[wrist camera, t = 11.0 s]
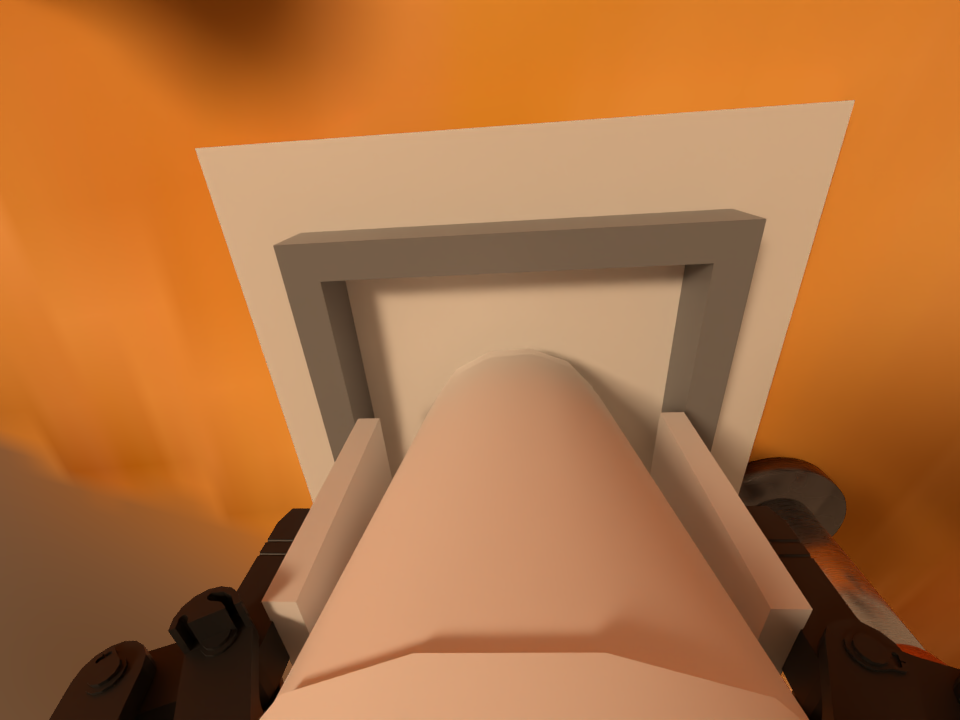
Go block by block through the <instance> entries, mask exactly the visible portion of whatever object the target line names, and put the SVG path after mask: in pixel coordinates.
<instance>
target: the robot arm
mask: <svg viewBox="0 0 960 720" xmlns="http://www.w3.org/2000/svg"><path fill="white" fill-rule="evenodd" d="M650 475H651V477H652V478H653V480H654V481H655V483H656V485H657V486H658V488H659V489H660V491H661V492H662V494H663V495H664V497H665V498H666V500H667V502H668V503H669V505H670V506H671V508H672V509H673V511H674V512H675V514H676V515H677V517H678V518H679V520H680V522H681V523H682V525H683V526H684V528H685V529H686V531H687V532H688V534H689V535H690V537H691V538H692V540H693V542H694V543H695V545H696V546H697V548H698V549H699V551H700V552H701V554H702V555H703V557H704V559H705V560H706V562H707V563H708V565H709V566H710V568H711V569H712V571H713V572H714V574H715V575H716V577H717V579H718V580H719V582H720V583H721V585H722V586H723V588H724V589H725V591H726V592H727V594H728V595H729V597H730V599H731V600H732V602H733V603H734V605H735V606H736V608H737V609H738V611H739V612H740V614H741V616H742V617H743V619H744V620H745V622H746V623H747V625H748V626H749V628H750V629H751V631H752V632H753V634H754V636H755V637H756V639H757V640H758V642H759V643H760V645H761V646H762V648H763V649H764V651H765V652H766V654H767V656H768V657H769V659H770V660H771V662H772V663H773V665H774V666H775V668H776V669H777V671H778V673H779V674H780V675H781V673H782V671H783V672H784V674H785V676H786V678H787V680H788V682H789V684H790V686H791V688H792V690H793V691H792V694H793V696H794V697H795V699H796V700H797V702H798V703H799V705H800V706H801V708H802V709H803V711H804V713H805V714H806V716H807V717H808V719H809V720H960V669H956V668H953V667H950V666H946V665H943V664H940V663H936V662H933V661H930V660H926V659H923V658H920V657H917V656H914V655H911V654H908V653H906V652H903V651H902V650H901V649H900V648H899V647H898V646H897V645H896V643H894V642H893V641H892V640H890V639H889V638H888V637H887V636H885V635H884V634H883V633H881V632H880V631H878V630H876V629H874V628H872V627H870V626H868V625H867V624H865V623H862V622H861V621H860V620H859V619H858V618H857V617H856V616H855V614H854V613H853V612H852V610H851V609H850V608H849V606H848V605H847V604H846V602H845V601H844V599H843V598H842V597H841V595H840V594H839V593H838V591H837V590H836V589H835V587H834V586H833V584H832V583H831V582H830V580H829V579H828V578H827V576H826V575H825V574H824V572H823V571H822V569H821V568H820V567H819V565H818V564H817V563H816V561H815V560H814V559H813V558H811V556H810V553H809V552H808V550H807V549H806V548H805V546H804V545H803V544H802V543H800V541H799V538H798V537H797V535H796V534H795V533H794V531H793V530H792V529H791V527H790V526H789V525H788V523H787V522H786V521H785V520H784V519H783V518H781V517H780V516H779V515H777V514H776V513H775V512H774V511H772V510H771V509H770V508H769V507H767V506H745V505H744V503H743V502H742V500H741V499H740V497H739V496H738V494H737V493H736V491H735V490H734V488H733V487H732V485H731V484H730V482H729V480H728V479H727V477H726V476H725V474H724V473H723V471H722V470H721V468H720V467H719V465H718V464H717V462H716V461H715V459H714V457H713V456H712V454H711V453H710V451H709V450H708V448H707V447H706V445H705V444H704V442H703V441H702V439H701V438H700V436H699V435H698V433H697V431H696V430H695V428H694V427H693V425H692V424H691V422H690V421H689V419H688V418H687V416H686V415H685V413H684V412H665V413H660V417H659V423H658V429H657V435H656V441H655V447H654V454H653V460H652V466H651V472H650ZM391 479H392V476H391V471H390V467H389V462H388V457H387V452H386V447H385V443H384V438H383V433H382V428H381V424H380V419H379V418H366V419H358V420H357V422H356V424H355V425H354V427H353V429H352V431H351V433H350V435H349V437H348V439H347V441H346V442H345V444H344V446H343V448H342V450H341V452H340V454H339V456H338V458H337V459H336V461H335V463H334V465H333V467H332V469H331V471H330V473H329V475H328V476H327V478H326V480H325V482H324V484H323V486H322V488H321V490H320V492H319V493H318V495H317V497H316V499H315V501H314V503H313V505H312V507H311V509H292V510H291V511H290V512H289V513H288V514H286V515H285V516H284V517H283V518H282V519H281V520H280V521H279V522H278V523H277V525H276V526H275V528H274V530H273V531H272V533H271V535H270V536H269V538H268V542H266V543H265V545H264V547H263V548H262V550H261V551H260V555H259V556H258V557H257V558H256V560H255V562H254V563H253V565H252V567H251V568H250V570H249V572H248V574H247V575H246V577H245V578H244V580H243V582H242V584H241V585H240V587H239V589H238V590H237V592H236V591H235V590H234V589H233V588H231V587H222V586H221V587H216V588H212V589H208V590H206V591H205V592H203V593H201V594H199V595H197V596H195V597H194V598H193V599H191V600H190V601H189V602H188V603H187V604H185V605H184V606H183V607H182V608H181V610H180V611H179V612H178V613H177V615H176V616H175V617H174V618H173V621H172V623H171V625H170V628H169V633H170V634H171V636H172V637H173V639H174V640H175V641H176V643H175V644H171V645H168V646H165V647H161V648H158V649H155V650H152V651H147V649H146V648H145V646H144V645H142V644H141V643H139V642H137V641H124V642H121V643H119V644H116V645H113V646H111V647H109V648H107V649H106V650H105V651H103V652H101V653H100V654H98V655H96V656H95V657H94V658H93V659H92V660H91V661H90V662H88V663H87V664H86V665H85V666H84V667H83V668H82V669H81V670H80V672H79V673H78V674H77V676H76V677H75V678H74V679H73V681H72V683H71V684H70V686H69V687H68V689H67V691H66V692H65V694H64V696H63V697H62V699H61V701H60V703H59V704H58V706H57V708H56V709H55V711H54V713H53V714H52V716H51V718H50V720H259V719H260V718H261V717H262V716H263V714H264V713H265V712H266V711H267V710H268V708H269V707H270V706H271V705H272V704H273V702H274V701H275V699H276V697H277V695H278V693H279V691H280V689H281V688H282V686H283V684H284V682H283V679H282V675H283V673H284V671H285V668H286V666H287V663H288V661H289V660H290V662H291V664H292V666H293V665H294V663H295V661H296V659H297V658H298V656H299V654H300V652H301V650H302V648H303V646H304V644H305V643H306V641H307V639H308V637H309V635H310V633H311V631H312V629H313V628H314V626H315V624H316V622H317V620H318V618H319V616H320V614H321V613H322V611H323V609H324V607H325V605H326V603H327V601H328V599H329V598H330V596H331V594H332V592H333V590H334V588H335V586H336V584H337V583H338V581H339V579H340V577H341V575H342V573H343V571H344V569H345V568H346V566H347V564H348V562H349V560H350V558H351V556H352V554H353V553H354V551H355V549H356V547H357V545H358V543H359V541H360V539H361V538H362V536H363V534H364V532H365V530H366V528H367V526H368V524H369V523H370V521H371V519H372V517H373V515H374V513H375V511H376V509H377V508H378V506H379V504H380V502H381V500H382V498H383V496H384V494H385V493H386V491H387V489H388V487H389V485H390V482H391Z"/></svg>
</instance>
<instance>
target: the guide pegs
mask: <svg viewBox="0 0 960 720" xmlns="http://www.w3.org/2000/svg"><path fill="white" fill-rule="evenodd" d="M738 496H739V497H740V499H741V500H742V502H743V503H744V505H745V506H767V507H769V508H770V509H771V510H772V511H774V512H775V513H776V514H777V515H779V516H780V517H781V518H783V519H784V520H785V521H786V522H787V523H788V525H789V526H790V527H791V529H792V530H793V531H794V533H795V534H796V535H797V537H798V538H799V541H800V543H802V544H803V545H804V546H805V548H806V549H807V550H808V552H809V553H810V556H811V558H813V559H814V560H815V561H816V563H817V564H818V565H819V567H820V568H821V569H822V571H823V572H824V574H825V575H826V576H827V578H828V579H829V580H830V582H831V583H832V584H833V586H834V587H835V589H836V590H837V591H838V593H839V594H840V595H841V597H842V598H843V599H844V601H845V602H846V604H847V605H848V606H849V608H850V609H851V610H852V612H853V613H854V614H855V616H856V617H857V618H858V619H859V620H860V621H861V622H862V623H865V624H867V625H868V626H870V627H872V628H874V629H876V630H878V631H880V632H881V633H883V634H884V635H885V636H887V637H888V638H889V639H890V640H892V641H893V642H894V643H896V645H897V646H898V647H899V648H900V649H901V650H902V651H903V652H906V653H908V654H911V655H914V656H917V657H920V658H923V659H926V660H930V661H933V662H936V663H940V664H943V665H946V664H945V663H943V662H942V661H941V660H939V659H938V658H937V657H935V656H933V655H932V654H930V653H929V652H927V651H926V650H925V649H924V648H923V647H922V646H921V644H920V643H919V642H918V641H917V640H916V638H915V637H914V636H913V635H912V634H911V632H910V631H909V630H908V629H907V627H906V626H905V625H904V624H903V623H902V621H901V620H900V619H899V618H898V617H897V615H896V614H895V613H894V612H893V611H892V609H891V608H890V607H889V606H888V604H887V603H886V602H885V601H884V600H883V598H882V597H881V596H880V595H879V594H878V592H877V591H876V590H875V589H874V587H873V586H872V585H871V584H870V583H869V581H868V580H867V579H866V578H865V577H864V575H863V574H862V573H861V572H860V571H859V569H858V568H857V567H856V566H855V564H854V563H853V562H852V561H851V560H850V558H849V557H848V556H847V555H846V554H845V552H844V551H843V550H842V549H841V548H840V546H839V545H838V544H837V543H836V541H835V540H834V539H833V538H832V536H833V535H834V534H835V533H836V532H837V530H838V529H839V528H840V526H841V524H842V523H843V520H844V518H845V514H846V501H845V498H844V496H843V494H842V492H841V491H840V490H839V488H838V487H837V486H836V485H835V484H834V483H833V482H832V481H831V480H830V479H829V478H828V477H827V476H826V475H825V474H824V473H823V472H822V471H821V470H820V469H819V468H818V467H816V466H814V465H813V464H811V463H808V462H806V461H802V460H799V459H793V458H780V457H779V458H767V459H761V460H757V461H753V462H750V463H748V464H747V467H746V471H745V474H744V477H743V481H742V484H741V488H740V491H739V494H738ZM946 666H947V665H946Z"/></svg>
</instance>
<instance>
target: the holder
mask: <svg viewBox="0 0 960 720" xmlns="http://www.w3.org/2000/svg"><path fill="white" fill-rule="evenodd" d="M854 102H855V100H851V101H837V102H823V103H809V104H796V105H782V106H768V107H755V108H741V109H727V110H714V111H700V112H686V113H673V114H659V115H645V116H631V117H618V118H604V119H590V120H577V121H563V122H549V123H536V124H522V125H508V126H495V127H481V128H467V129H453V130H440V131H426V132H412V133H399V134H385V135H371V136H358V137H344V138H330V139H317V140H303V141H289V142H275V143H262V144H248V145H234V146H221V147H207V148H195V150H196V153H197V156H198V159H199V162H200V165H201V168H202V171H203V174H204V177H205V180H206V183H207V186H208V189H209V192H210V195H211V198H212V201H213V204H214V207H215V210H216V213H217V216H218V219H219V222H220V225H221V228H222V231H223V234H224V237H225V240H226V243H227V246H228V249H229V252H230V255H231V258H232V261H233V264H234V267H235V270H236V273H237V276H238V279H239V282H240V285H241V288H242V291H243V294H244V297H245V300H246V303H247V306H248V309H249V312H250V315H251V318H252V321H253V324H254V327H255V330H256V333H257V336H258V339H259V342H260V345H261V348H262V351H263V354H264V357H265V360H266V363H267V366H268V369H269V372H270V375H271V378H272V381H273V384H274V387H275V390H276V393H277V396H278V399H279V402H280V405H281V408H282V411H283V414H284V417H285V420H286V423H287V426H288V429H289V432H290V435H291V438H292V441H293V444H294V447H295V450H296V453H297V456H298V459H299V462H300V465H301V468H302V471H303V474H304V477H305V480H306V483H307V486H308V489H309V492H310V495H311V498H312V501H313V503H314V501H315V499H316V497H317V495H318V493H319V492H320V490H321V488H322V486H323V484H324V482H325V480H326V478H327V476H328V475H329V473H330V471H331V469H332V467H333V465H334V463H335V461H336V459H337V458H338V456H339V454H340V452H341V450H342V448H343V446H344V444H345V442H346V441H347V439H348V437H349V435H350V433H351V431H352V429H353V427H354V425H355V424H356V422H357V420H358V419H366V418H379V419H380V424H381V428H382V433H383V438H384V443H385V447H386V452H387V457H388V462H389V467H390V471H391V476H392V479H393V478H394V476H395V474H396V472H397V470H398V468H399V466H400V464H401V463H402V461H403V459H404V457H405V455H406V453H407V451H408V450H409V448H410V446H411V444H412V442H413V440H414V438H415V436H416V435H417V433H418V431H419V429H420V427H421V425H422V423H423V421H424V420H425V418H426V416H427V414H428V412H429V410H430V408H431V406H432V405H433V403H434V402H435V400H436V399H437V396H438V395H439V393H440V392H441V390H442V389H443V388H444V386H445V385H446V383H447V382H448V380H449V379H450V378H451V376H452V375H453V373H454V372H455V370H456V369H458V368H459V367H461V366H463V365H465V364H467V363H469V362H471V361H473V360H475V359H476V358H478V357H480V356H482V355H484V354H486V353H488V352H490V351H502V350H515V349H529V348H530V349H533V350H536V351H539V352H542V353H545V354H548V355H551V356H553V357H556V358H559V359H562V360H565V361H567V362H568V363H569V364H570V365H571V366H572V367H573V368H574V369H575V370H576V371H577V372H578V373H579V374H580V375H581V376H582V377H583V378H584V379H585V380H586V381H587V382H588V383H589V384H590V385H591V386H592V387H593V390H594V391H595V392H596V393H597V394H598V395H599V397H600V398H601V400H602V401H603V403H604V404H605V406H606V408H607V409H608V411H609V412H610V414H611V415H612V417H613V418H614V420H615V421H616V423H617V424H618V426H619V428H620V429H621V431H622V432H623V434H624V435H625V437H626V438H627V440H628V441H629V443H630V445H631V446H632V448H633V449H634V451H635V452H636V454H637V455H638V457H639V458H640V460H641V461H642V463H643V465H644V466H645V468H646V469H647V471H648V472H649V474H650V472H651V466H652V460H653V454H654V447H655V441H656V435H657V429H658V423H659V417H660V413H665V412H684V413H685V415H686V416H687V418H688V419H689V421H690V422H691V424H692V425H693V427H694V428H695V430H696V431H697V433H698V435H699V436H700V438H701V439H702V441H703V442H704V444H705V445H706V447H707V448H708V450H709V451H710V453H711V454H712V456H713V457H714V459H715V461H716V462H717V464H718V465H719V467H720V468H721V470H722V471H723V473H724V474H725V476H726V477H727V479H728V480H729V482H730V484H731V485H732V487H733V488H734V490H735V491H736V493H737V494H739V491H740V488H741V484H742V481H743V477H744V474H745V471H746V467H747V464H748V461H749V457H750V454H751V450H752V447H753V444H754V440H755V437H756V433H757V430H758V427H759V423H760V420H761V417H762V413H763V410H764V406H765V403H766V400H767V396H768V393H769V389H770V386H771V383H772V379H773V376H774V373H775V369H776V366H777V362H778V359H779V356H780V352H781V349H782V345H783V342H784V339H785V335H786V332H787V329H788V325H789V322H790V318H791V315H792V312H793V308H794V305H795V301H796V298H797V295H798V291H799V288H800V285H801V281H802V278H803V274H804V271H805V268H806V264H807V261H808V257H809V254H810V251H811V247H812V244H813V240H814V237H815V234H816V230H817V227H818V224H819V220H820V217H821V213H822V210H823V207H824V203H825V200H826V196H827V193H828V190H829V186H830V183H831V180H832V176H833V173H834V169H835V166H836V163H837V159H838V156H839V152H840V149H841V146H842V142H843V139H844V136H845V132H846V129H847V125H848V122H849V119H850V115H851V112H852V108H853V105H854ZM392 479H391V481H392ZM390 483H391V482H390Z"/></svg>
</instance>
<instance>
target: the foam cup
mask: <svg viewBox="0 0 960 720" xmlns="http://www.w3.org/2000/svg"><path fill="white" fill-rule="evenodd" d="M259 720H809V719H808V717H807V716H806V714H805V713H804V711H803V709H802V708H801V706H800V705H799V703H798V702H797V700H796V699H795V697H794V696H793V694H792V693H791V691H790V689H789V688H788V686H787V685H786V683H785V682H784V680H783V679H782V677H781V676H780V674H779V673H778V671H777V669H776V668H775V666H774V665H773V663H772V662H771V660H770V659H769V657H768V656H767V654H766V652H765V651H764V649H763V648H762V646H761V645H760V643H759V642H758V640H757V639H756V637H755V636H754V634H753V632H752V631H751V629H750V628H749V626H748V625H747V623H746V622H745V620H744V619H743V617H742V616H741V614H740V612H739V611H738V609H737V608H736V606H735V605H734V603H733V602H732V600H731V599H730V597H729V595H728V594H727V592H726V591H725V589H724V588H723V586H722V585H721V583H720V582H719V580H718V579H717V577H716V575H715V574H714V572H713V571H712V569H711V568H710V566H709V565H708V563H707V562H706V560H705V559H704V557H703V555H702V554H701V552H700V551H699V549H698V548H697V546H696V545H695V543H694V542H693V540H692V538H691V537H690V535H689V534H688V532H687V531H686V529H685V528H684V526H683V525H682V523H681V522H680V520H679V518H678V517H677V515H676V514H675V512H674V511H673V509H672V508H671V506H670V505H669V503H668V502H667V500H666V498H665V497H664V495H663V494H662V492H661V491H660V489H659V488H658V486H657V485H656V483H655V481H654V480H653V478H652V477H651V475H650V474H649V472H648V471H647V469H646V468H645V466H644V465H643V463H642V461H641V460H640V458H639V457H638V455H637V454H636V452H635V451H634V449H633V448H632V446H631V445H630V443H629V441H628V440H627V438H626V437H625V435H624V434H623V432H622V431H621V429H620V428H619V426H618V424H617V423H616V421H615V420H614V418H613V417H612V415H611V414H610V412H609V411H608V409H607V408H606V406H605V404H604V403H603V401H602V400H601V398H600V397H599V395H598V394H597V393H596V392H595V391H594V390H593V387H592V386H591V385H590V384H589V383H588V382H587V381H586V380H585V379H584V378H583V377H582V376H581V375H580V374H579V373H578V372H577V371H576V370H575V369H574V368H573V367H572V366H571V365H570V364H569V363H568V362H567V361H565V360H562V359H559V358H556V357H553V356H551V355H548V354H545V353H542V352H539V351H536V350H533V349H530V348H529V349H515V350H502V351H490V352H488V353H486V354H484V355H482V356H480V357H478V358H476V359H475V360H473V361H471V362H469V363H467V364H465V365H463V366H461V367H459V368H458V369H456V370H455V372H454V373H453V375H452V376H451V378H450V379H449V380H448V382H447V383H446V385H445V386H444V388H443V389H442V390H441V392H440V393H439V395H438V396H437V399H436V400H435V402H434V403H433V405H432V406H431V408H430V410H429V412H428V414H427V416H426V418H425V420H424V421H423V423H422V425H421V427H420V429H419V431H418V433H417V435H416V436H415V438H414V440H413V442H412V444H411V446H410V448H409V450H408V451H407V453H406V455H405V457H404V459H403V461H402V463H401V464H400V466H399V468H398V470H397V472H396V474H395V476H394V478H393V479H392V481H391V483H390V485H389V487H388V489H387V491H386V493H385V494H384V496H383V498H382V500H381V502H380V504H379V506H378V508H377V509H376V511H375V513H374V515H373V517H372V519H371V521H370V523H369V524H368V526H367V528H366V530H365V532H364V534H363V536H362V538H361V539H360V541H359V543H358V545H357V547H356V549H355V551H354V553H353V554H352V556H351V558H350V560H349V562H348V564H347V566H346V568H345V569H344V571H343V573H342V575H341V577H340V579H339V581H338V583H337V584H336V586H335V588H334V590H333V592H332V594H331V596H330V598H329V599H328V601H327V603H326V605H325V607H324V609H323V611H322V613H321V614H320V616H319V618H318V620H317V622H316V624H315V626H314V628H313V629H312V631H311V633H310V635H309V637H308V639H307V641H306V643H305V644H304V646H303V648H302V650H301V652H300V654H299V656H298V658H297V659H296V661H295V663H294V665H293V667H292V669H291V671H290V673H289V674H288V676H287V678H286V680H285V682H284V684H283V686H282V688H281V689H280V691H279V693H278V695H277V697H276V699H275V701H274V702H273V704H272V705H271V706H270V707H269V708H268V710H267V711H266V712H265V713H264V714H263V716H262V717H261V718H260V719H259Z"/></svg>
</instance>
